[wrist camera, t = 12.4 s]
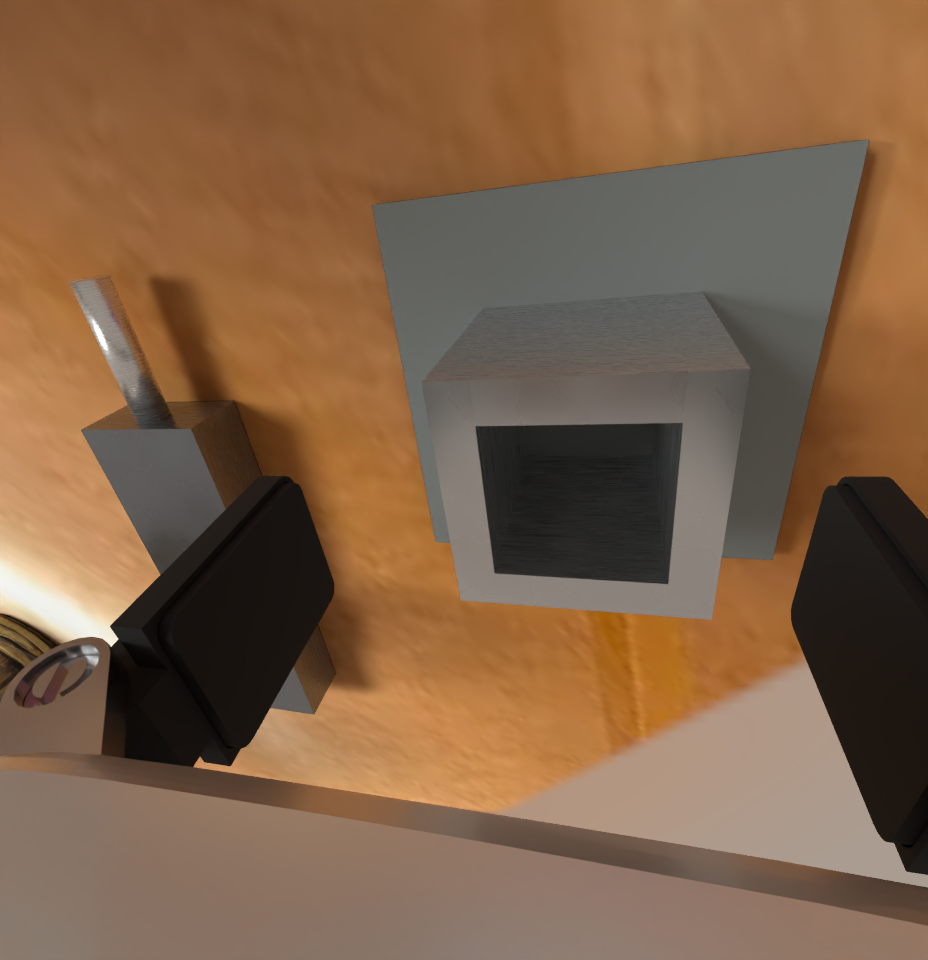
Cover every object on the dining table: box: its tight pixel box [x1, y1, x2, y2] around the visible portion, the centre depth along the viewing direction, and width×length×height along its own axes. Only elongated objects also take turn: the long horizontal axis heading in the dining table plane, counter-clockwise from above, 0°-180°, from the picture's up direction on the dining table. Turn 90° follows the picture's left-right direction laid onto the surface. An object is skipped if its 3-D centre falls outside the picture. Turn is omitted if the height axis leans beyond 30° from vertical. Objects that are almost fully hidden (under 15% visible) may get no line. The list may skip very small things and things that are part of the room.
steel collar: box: [421, 291, 751, 620], centre depth 14 cm, size 6×6×6 cm
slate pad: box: [372, 140, 869, 560], centre depth 16 cm, size 12×12×1 cm
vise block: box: [69, 275, 336, 714], centre depth 19 cm, size 21×5×12 cm, turn 7°
